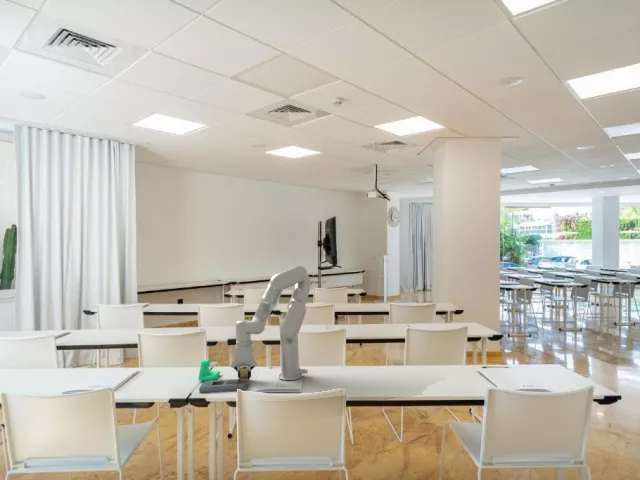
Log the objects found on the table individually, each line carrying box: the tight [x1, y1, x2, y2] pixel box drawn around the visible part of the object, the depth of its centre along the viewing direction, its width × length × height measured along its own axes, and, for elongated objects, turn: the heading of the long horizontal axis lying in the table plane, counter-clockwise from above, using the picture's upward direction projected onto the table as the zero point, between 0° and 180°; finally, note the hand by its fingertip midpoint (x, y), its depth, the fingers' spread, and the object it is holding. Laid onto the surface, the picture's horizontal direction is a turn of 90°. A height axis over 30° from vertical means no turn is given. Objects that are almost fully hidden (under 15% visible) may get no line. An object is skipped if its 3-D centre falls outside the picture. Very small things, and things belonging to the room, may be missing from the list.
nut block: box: [240, 366, 250, 382], centre depth 203 cm, size 4×4×7 cm
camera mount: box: [198, 359, 221, 381], centre depth 210 cm, size 12×8×10 cm, turn 175°
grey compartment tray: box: [198, 378, 249, 394], centre depth 194 cm, size 22×10×3 cm, turn 94°
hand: (244, 378), depth 203 cm, fingers closed on nut block, 4 cm apart
